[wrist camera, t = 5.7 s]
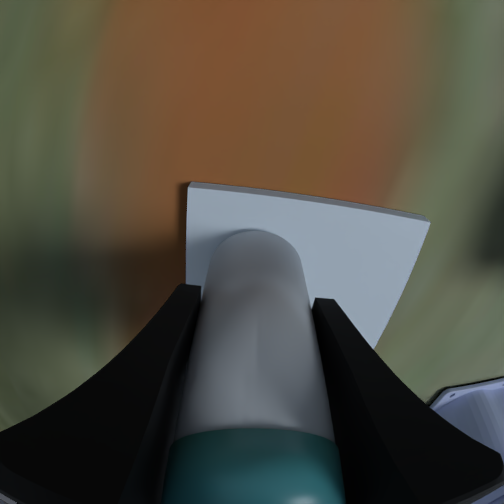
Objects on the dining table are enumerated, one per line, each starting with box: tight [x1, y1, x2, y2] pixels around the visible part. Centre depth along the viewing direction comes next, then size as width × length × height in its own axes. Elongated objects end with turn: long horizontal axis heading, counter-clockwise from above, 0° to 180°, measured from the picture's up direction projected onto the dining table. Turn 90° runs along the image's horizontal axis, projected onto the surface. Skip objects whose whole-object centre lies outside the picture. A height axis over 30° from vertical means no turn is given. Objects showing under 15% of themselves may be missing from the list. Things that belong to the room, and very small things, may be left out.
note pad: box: [186, 182, 431, 349], centre depth 14 cm, size 9×13×1 cm
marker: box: [161, 231, 346, 504], centre depth 8 cm, size 4×4×8 cm
